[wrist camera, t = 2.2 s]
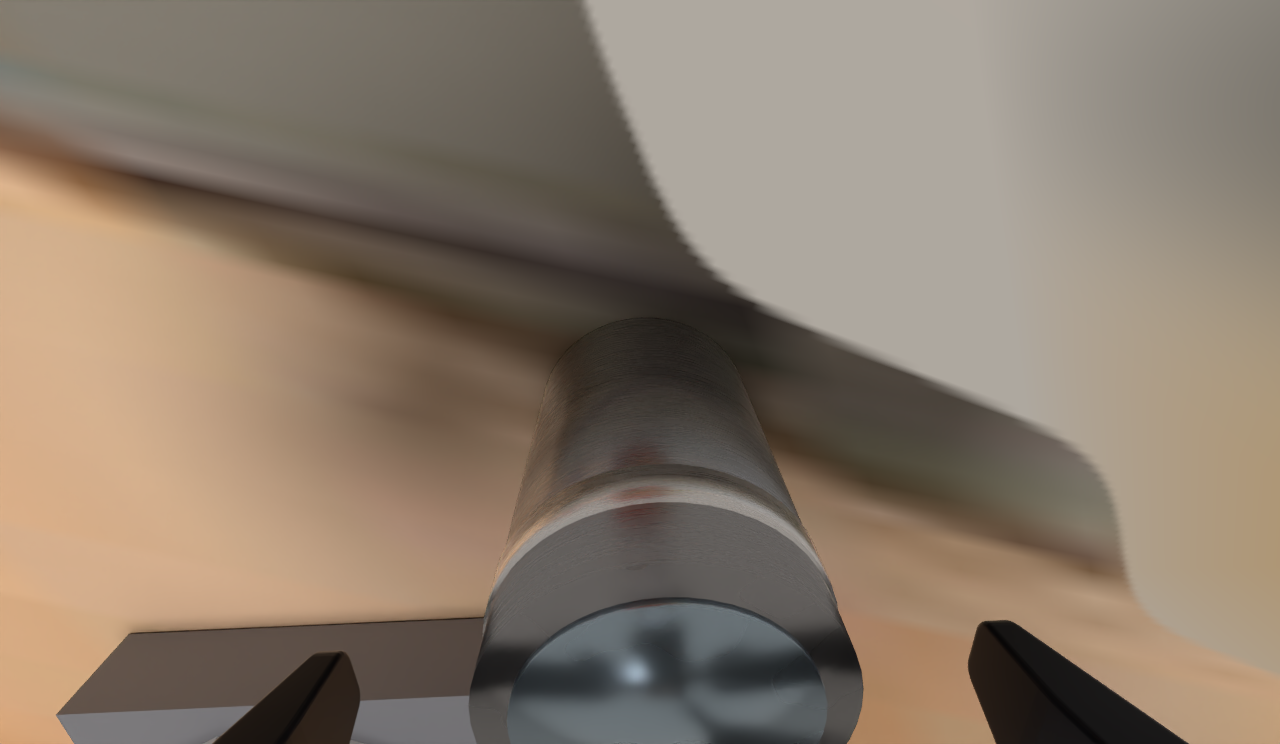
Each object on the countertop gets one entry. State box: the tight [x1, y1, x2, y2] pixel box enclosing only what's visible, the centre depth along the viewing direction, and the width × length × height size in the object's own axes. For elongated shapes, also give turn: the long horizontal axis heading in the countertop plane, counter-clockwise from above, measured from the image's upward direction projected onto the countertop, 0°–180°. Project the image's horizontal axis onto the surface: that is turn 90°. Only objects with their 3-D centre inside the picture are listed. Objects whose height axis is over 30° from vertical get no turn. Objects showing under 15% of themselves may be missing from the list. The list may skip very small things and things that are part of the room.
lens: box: [469, 318, 863, 744], centre depth 11 cm, size 5×5×8 cm
